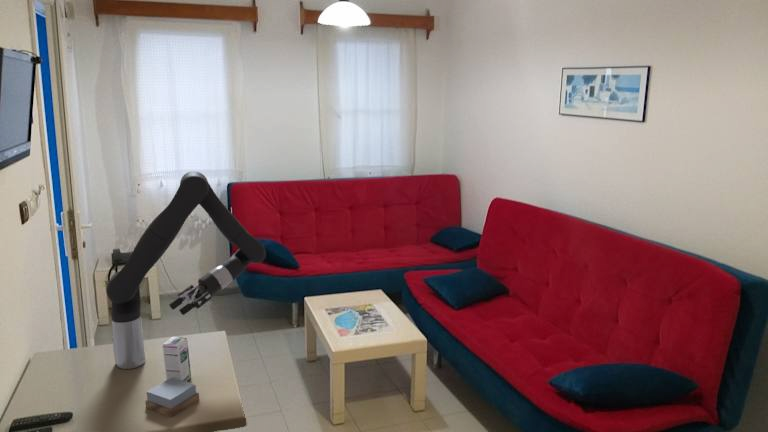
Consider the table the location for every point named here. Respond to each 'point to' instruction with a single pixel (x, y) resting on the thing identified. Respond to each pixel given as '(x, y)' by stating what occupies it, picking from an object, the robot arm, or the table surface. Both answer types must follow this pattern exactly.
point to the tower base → (176, 409)
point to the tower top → (171, 392)
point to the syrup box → (177, 358)
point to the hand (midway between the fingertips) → (175, 310)
